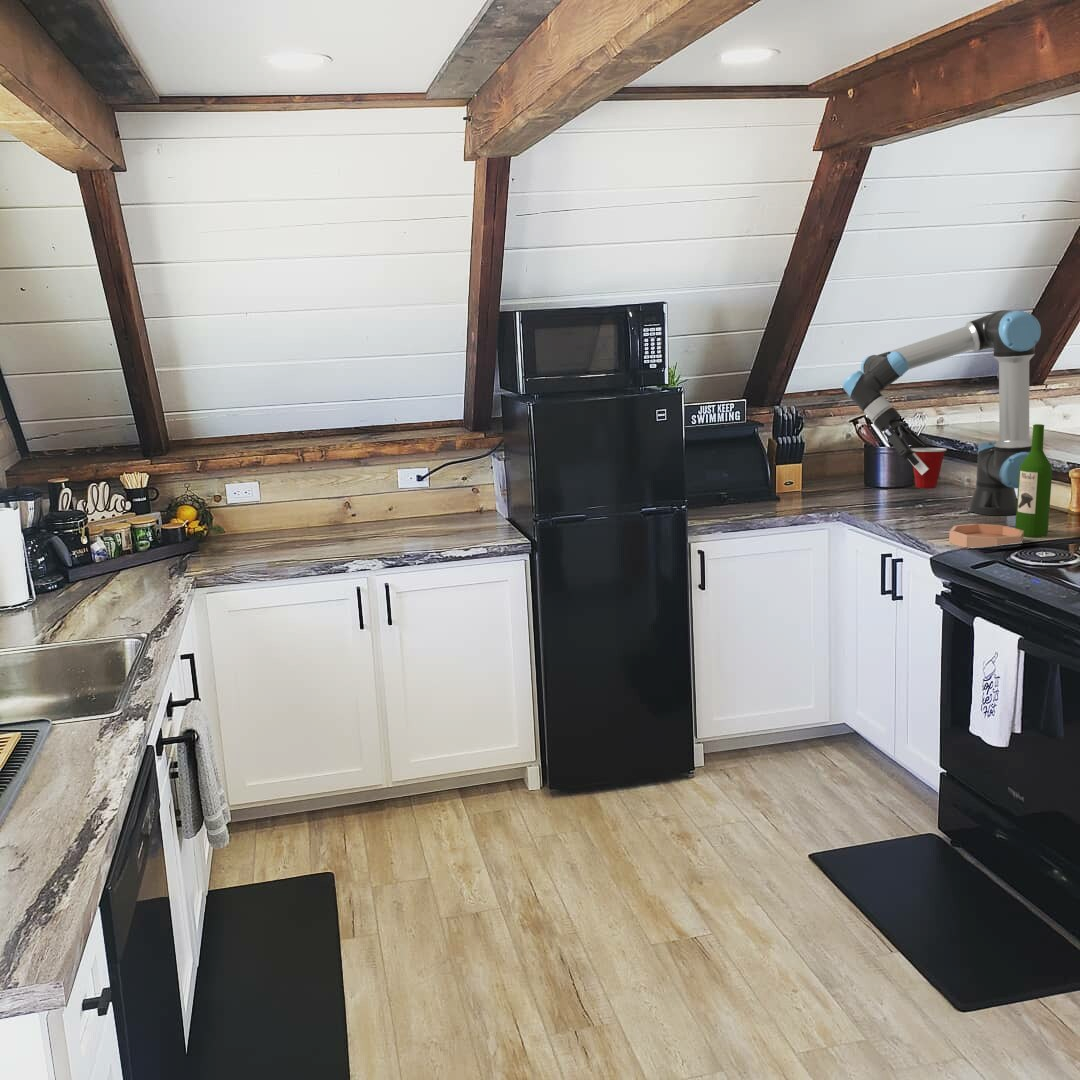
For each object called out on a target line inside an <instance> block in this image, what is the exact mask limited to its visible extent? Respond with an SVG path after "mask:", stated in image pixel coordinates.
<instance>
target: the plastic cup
mask: <svg viewBox="0 0 1080 1080" xmlns="http://www.w3.org/2000/svg"><path fill="white" fill-rule="evenodd" d="M910 449H911V451H912V452H913V453H915V454H916V455H917V456H918V457H919V458H920V459H921V460H922V461H923V463H924V464H925V465H926V466H927V467H928V468H929V470H927V471H926V472H925V473H924V474H923V475H921V474H920V473H919V472H918V471H917V469H916V468H915V467H914V466H913V465H912V468H913V470H912V471H913V475H914V484H915V488H918V489H922V490H923V489H925V490H926V489H928V490H929V489H936V487H937V484H938V480H939V477H940V472H941V468H942V464H943V460H944V457H945V453H946V451H947V448H941V447H928V448H913V447H910ZM913 453H912V454H913Z"/></svg>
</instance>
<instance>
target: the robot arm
mask: <svg viewBox="0 0 1080 1080" xmlns="http://www.w3.org/2000/svg"><path fill="white" fill-rule="evenodd" d="M1041 327H1042V326H1041V324H1040V322H1039V320H1038V318H1037V317H1035V316H1034V315H1033V314H1031V313H1029V312H1026V311H1024V310H1023V311H1022V310H998V311H994V312H992V313H989V314H987V315H985V316H981V317H980V318H976V319H974V320H971V321H968V322H966V323H965V325H964V327H963V326H962V327H959V328H956V329H954V330H951V331H947V332H944V333H942V334H939V335H936V336H933V337H932V336H931V337H929V338H926V339H922V340H920V341H917V342H913V343H910V344H907V345H903V346H901V347H898V348H894V349H892V350H889V351H886V352H883V353H880V354H871V355H868V356H867V357H865V358H864V359H863V360H862V361H861V365H860V370H856V371H854V372H853V373H851V374H850V375H848V376H847V378H846V379H844V380H843V382H842V389H843V390H844V391H845V392H846V394H847V395H848V397H849V398H850V399H851V400H852V401H853V402H854V403H855V404H856V405H857V407H858V408H859V409H860V410H861V411H862V413H863V414H865V418H867V419H869V420H870V421H871V422H873V424H874V425H873V426H875V427H876V428H877V429H878V431H879V432H883V435H884V436H885V437H886V438H887V439H888V441H890V443H891V445H892V446H893V447H894V449H895V450H896V452H897V453H898V455H899V456H900V457H901V458H902V460H903V461H906V460H907V461H909V462H910V464H911V465H912V467H913V466H914V467H915V468H916V469H917V471H918V472H919V473H920V474H921V475H923V474H924V473H925V472H926V471H927V470H929V468H928V467H927V466H926V465H925V464H924V463H923V461H922V460H921V459H920V458H919V457H918V456H917V455H916V454H915V453H913V452H912V451H911V449H910V448H930V445H929V444H928V443H927V442H926V441H924V440H923V439H922V438H921V437H920V436H919V434H917V433H916V432H915V431H914V430H913V429H911V427H910V426H909V425H908V423H906V422H904V423H901V422H900V421H899V419H900V418H901V414H900V413H899V412H898V410H896V408H894V407H892V404H891V403H890V401H889V400H888V399H887V398H886V397H885V396H884V395H882V392H883V391H884V390H885V389H886V388H888V387H890V386H891V385H892V384H893V383H894V382H895V381H897V380H899V379H900V378H901V377H903V375H904V374H905V373H907V372H908V371H909V370H912V369H916V368H919V367H921V366H924V365H928V364H931V363H934V362H937V361H940V360H943V359H946V358H949V357H953V356H957V355H958V354H962V353H966V352H968V351H971V350H972V351H973V352H978V351H979V352H980V351H982V350H983V351H984V350H987V349H993V358H994V359H995V360H997V362H998V389H999V390H998V392H999V393H998V400H999V401H998V404H999V405H998V408H999V411H998V412H999V416H998V417H999V421H998V422H999V438H998V440H997V441H983V442H980V443H979V444H978V450H977V461H976V462H977V466H976V483H975V484H976V485H975V490H974V492H973V495H972V498H971V500H970V502H969V505H968V510H970V511H969V512H971V513H973V512H974V513H973V514H977V513H979V515H984V516H1014V515H1016V510H1017V493H1016V490H1015V489H1018V480H1019V469H1020V465H1021V463H1022V462H1023V461H1024V459H1025V458H1026V457H1027V455H1028V454H1029V453H1030V451H1031V447H1032V438H1030V362H1031V361H1030V360H1031V359H1032V358H1033V357H1034V356H1035V355H1036V352H1035V351H1036V350H1035V349H1036V345H1037V343H1038V342H1039V341H1040V338H1041V333H1042V328H1041ZM910 446H911V447H910ZM912 453H913V454H912Z"/></svg>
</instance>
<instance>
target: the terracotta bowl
mask: <svg viewBox="0 0 1080 1080" xmlns="http://www.w3.org/2000/svg"><path fill="white" fill-rule="evenodd" d="M948 535H949V537H948V543H949V542H950V543H949V544H951V543H952V545H956V546H959V547H961V548H964V547H987V546H995V545H1001V544H1009V543H1017V542H1021V541H1023V542H1024V537H1023V535H1024V531H1023V530H1020V529H1016V528H1015V527H1011V526H1008V525H1002V524H990V523H988V524H987V523H968V524H958V525H956V524H955V525H953V526H952V527H951V529H949V534H948Z"/></svg>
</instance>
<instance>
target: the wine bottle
mask: <svg viewBox="0 0 1080 1080" xmlns="http://www.w3.org/2000/svg"><path fill="white" fill-rule="evenodd" d="M1032 426H1033V427H1032V436H1031V440H1032V447H1031V451H1030V453H1029V454H1028V455H1027V457H1026V458H1025V459H1024V461H1023V462H1022V463H1021V465H1020V469H1019V480H1018V488H1017V494H1016V496H1017V510H1016V514H1015V527H1014V528H1016V529H1020V530H1023V531H1024V535H1023V538H1043V537H1042V536H1045V537H1047V536H1048V535H1049V533H1048V532H1049V522H1050V519H1049V518H1050V506H1051V504H1050V503H1051V493H1052V492H1051V491H1052V480H1053V479H1052V478H1053V469H1052V464H1051V462H1050V461H1049V459H1048V458H1047V455H1046V454H1045V452H1044V440H1045V439H1044V437H1045V436H1044V434H1045V424H1037V423H1036V424H1033V425H1032Z"/></svg>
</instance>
